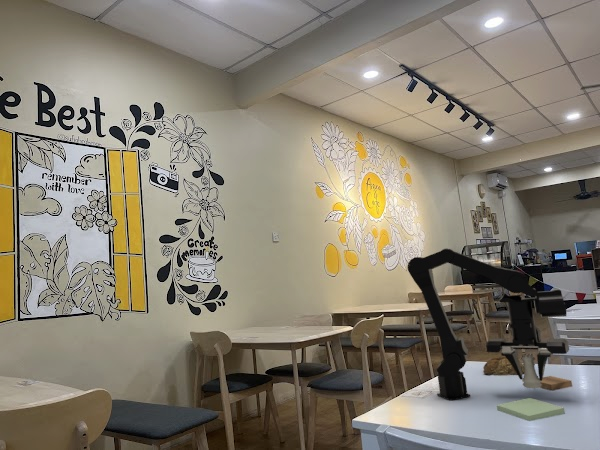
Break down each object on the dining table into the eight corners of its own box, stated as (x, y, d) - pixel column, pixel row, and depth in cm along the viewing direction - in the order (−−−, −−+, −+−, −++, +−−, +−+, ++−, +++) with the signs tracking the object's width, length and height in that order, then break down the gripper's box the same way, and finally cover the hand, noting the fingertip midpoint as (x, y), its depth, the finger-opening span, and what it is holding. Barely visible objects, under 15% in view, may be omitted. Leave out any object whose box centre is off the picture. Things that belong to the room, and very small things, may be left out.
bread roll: (520, 366, 148) (518, 351, 149) (530, 375, 136) (527, 359, 137) (480, 368, 151) (478, 354, 152) (486, 377, 139) (483, 361, 140)
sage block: (530, 425, 96) (528, 415, 97) (497, 413, 106) (496, 405, 106) (565, 416, 99) (564, 407, 100) (531, 406, 109) (529, 397, 109)
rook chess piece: (544, 388, 111) (539, 355, 112) (525, 389, 111) (520, 356, 112) (538, 383, 115) (533, 352, 116) (520, 384, 116) (515, 353, 117)
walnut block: (552, 392, 118) (551, 384, 118) (532, 387, 124) (530, 379, 125) (572, 388, 120) (571, 380, 120) (551, 383, 126) (550, 375, 127)
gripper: (566, 313, 116) (577, 374, 114) (493, 315, 127) (501, 370, 125) (560, 319, 107) (571, 385, 105) (481, 320, 119) (490, 380, 117)
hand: (531, 379), depth 113 cm, fingers closed on rook chess piece, 4 cm apart
